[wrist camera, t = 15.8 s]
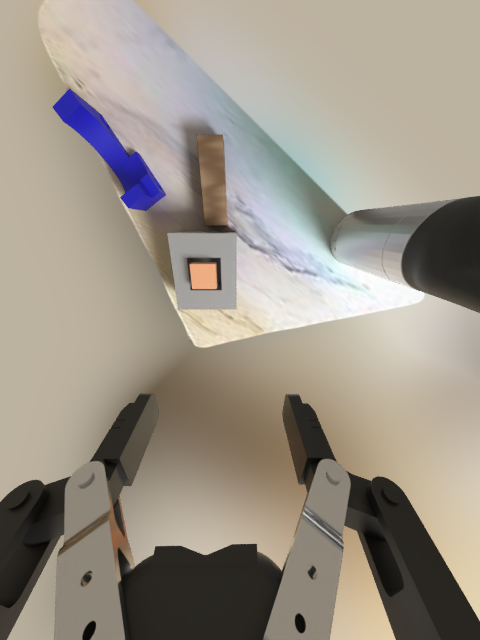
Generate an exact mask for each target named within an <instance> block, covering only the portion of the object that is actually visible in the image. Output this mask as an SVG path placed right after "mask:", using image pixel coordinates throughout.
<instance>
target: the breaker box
mask: <svg viewBox="0 0 480 640" xmlns="http://www.w3.org/2000/svg"><path fill="white" fill-rule="evenodd" d="M167 236H168V243H169V249H170V256H171V263H172V270H173V277H174V283H175V290H176V297H177V304H178V309H236V232H171V233H167ZM191 262H216V267H217V289H192V282H191V273H190V263H191Z"/></svg>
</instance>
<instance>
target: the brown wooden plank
mask: <svg viewBox="0 0 480 640" xmlns="http://www.w3.org/2000/svg"><path fill="white" fill-rule="evenodd" d="M197 144H198V155H199V165H200V176H201V187H202V198H203V209H204V220H205V226H215V225H227V202H226V180H225V158H224V141H223V135H197Z"/></svg>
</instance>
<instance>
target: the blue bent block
mask: <svg viewBox="0 0 480 640" xmlns="http://www.w3.org/2000/svg"><path fill="white" fill-rule="evenodd" d="M53 108H54V110H55V111H56V112H57V114H58V115H59V116H60V118H61V119H62V120H63V121H64V122H65V123H66V124H68V125H69V126H70V127H72V128H73V129H74V130H75V131H77V132H78V133H79V134H80V135H81V136H82V137H84V138H85V139H86V140H87V141H88V142H89V143H90V144H91V145H92V146H93V147H94V148H95V149H96V150H97V152H98V153H99V154H100V155H101V156H102V157H103V158H104V159H105V161H106V162H107V163H108V164H109V166H110V167H111V168H112V170H113V171H114V172H115V174H116V175H117V177H118V178H119V180H120V181H121V183H122V185H123V187H124V190H125V194H124V195H123V196H121V197H120V198H121V199H122V200H123V202H124V203H125V204H126V206H127V207H128V208H131V209H137V210H143V211H146V210H147V209H149V208H150V207H151V206H153V205H154V204H155V203H156V202H158V201H159V200H160V199H161V198H163V197H164V196H165V195H166V194H165V192H164V191H163V189H162V188H161V186H160V185H159V183H158V181H157V180H156V178H155V177H154V175H153V174H152V172H151V171H150V169H149V168H148V166H147V165H146V163H145V162H144V160H143V159H142V157H141V156H140V154H138V153H137V152H135V153H134V154H133V155H131V156H129V155H128V153H127V152H126V150H125V149H124V147H123V146H122V145H121V143H120V142H119V140H118V139H117V137H116V136H115V134H114V133H113V131H112V130H111V128H110V127H109V125H108V124H107V122H106V121H105V119H104V118H103V116H102V115H101V114H100V113H98V112H97V111H96V110H95V109H94V108H92V107H91V106H90V105H89V104H88V103H86V102H85V101H84V100H83V99H82V98H80V97H79V96H78V95H77V94H76V93H74V92H73V91H72V90H71V89H69V90H68V91H67V92H66V93H65V94H64V95H63V96H62V97H61V98H60V100H59V101H58V102H57V103H56V104H55V105H54V106H53Z"/></svg>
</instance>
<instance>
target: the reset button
mask: <svg viewBox="0 0 480 640" xmlns="http://www.w3.org/2000/svg"><path fill="white" fill-rule="evenodd" d="M190 273H191V282H192V289H217V267H216V262H191V263H190Z"/></svg>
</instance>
